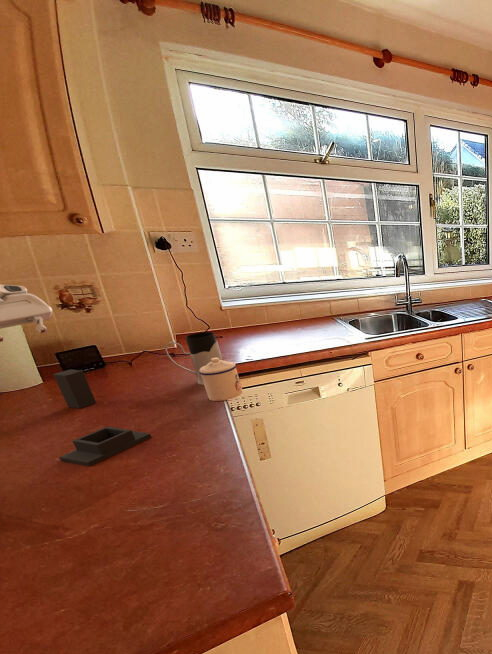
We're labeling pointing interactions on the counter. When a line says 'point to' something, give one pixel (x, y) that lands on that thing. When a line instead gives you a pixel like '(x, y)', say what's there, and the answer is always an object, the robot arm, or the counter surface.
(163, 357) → the counter surface
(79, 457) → the base pad
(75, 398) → the dark grey rectangular block
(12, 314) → the robot arm
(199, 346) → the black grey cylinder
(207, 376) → the teacup with lid
